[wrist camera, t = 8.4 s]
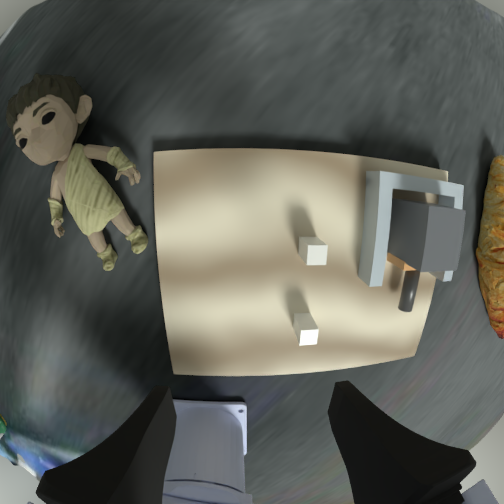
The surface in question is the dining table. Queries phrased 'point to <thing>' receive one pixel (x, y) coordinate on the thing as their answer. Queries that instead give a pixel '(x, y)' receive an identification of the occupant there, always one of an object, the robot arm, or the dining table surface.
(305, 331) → the twin white cubes
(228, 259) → the board
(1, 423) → the beverage can
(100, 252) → the figurine
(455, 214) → the block
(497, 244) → the croissant
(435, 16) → the dining table surface
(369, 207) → the end holder
